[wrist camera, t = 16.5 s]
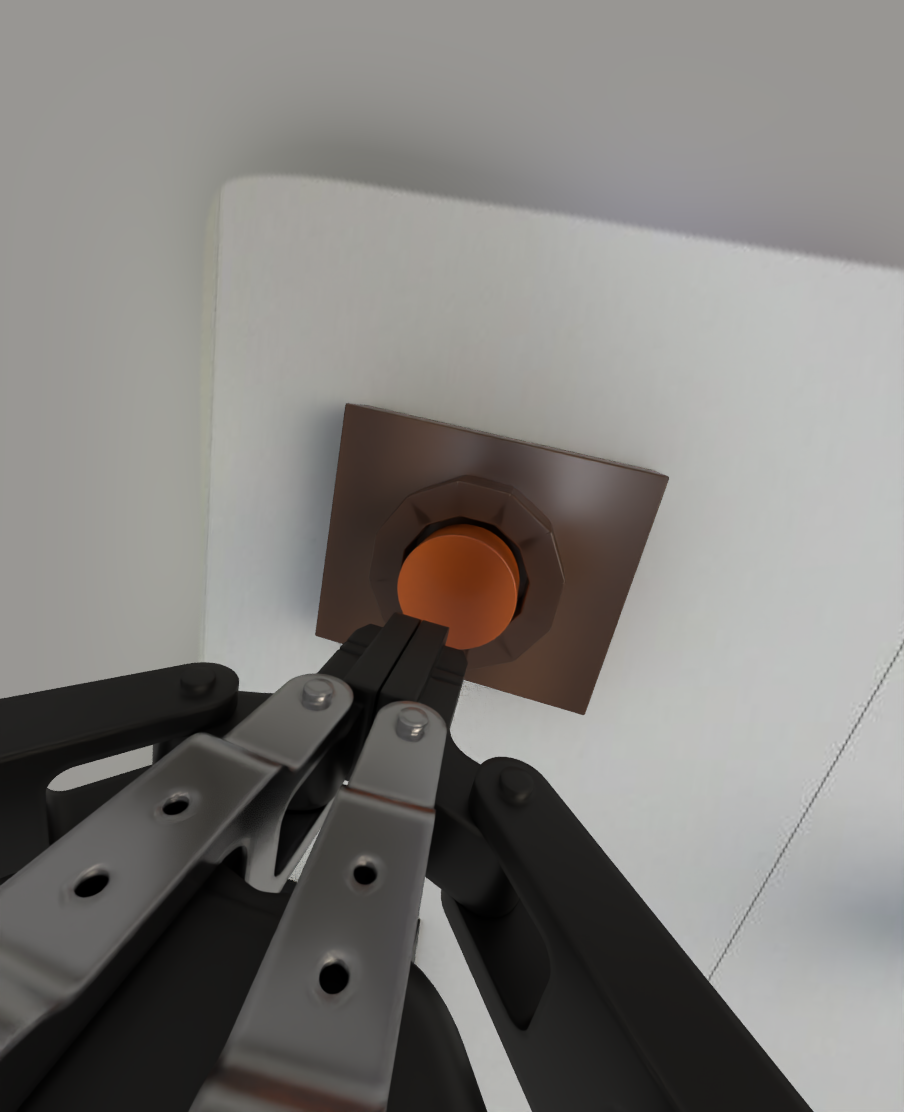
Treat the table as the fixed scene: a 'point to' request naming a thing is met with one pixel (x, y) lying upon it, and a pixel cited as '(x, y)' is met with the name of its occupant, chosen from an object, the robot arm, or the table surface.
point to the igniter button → (461, 584)
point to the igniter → (510, 513)
